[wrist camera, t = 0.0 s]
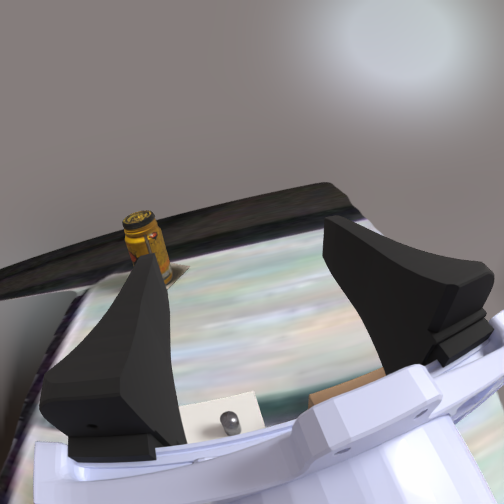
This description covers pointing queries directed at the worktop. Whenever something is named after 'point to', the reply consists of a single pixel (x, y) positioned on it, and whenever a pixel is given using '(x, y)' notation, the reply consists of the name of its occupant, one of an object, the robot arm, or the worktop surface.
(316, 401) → the walnut block
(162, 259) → the condiment
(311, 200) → the worktop surface
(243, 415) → the plate
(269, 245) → the worktop surface
